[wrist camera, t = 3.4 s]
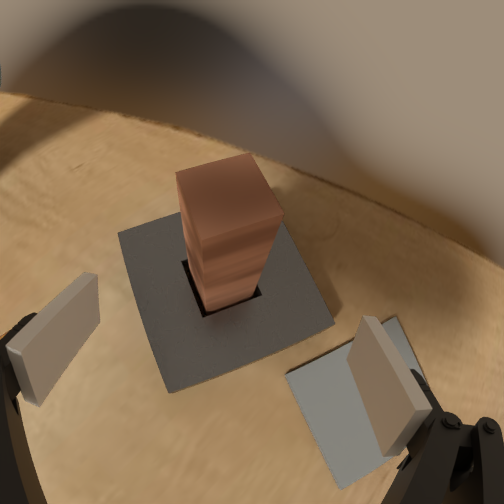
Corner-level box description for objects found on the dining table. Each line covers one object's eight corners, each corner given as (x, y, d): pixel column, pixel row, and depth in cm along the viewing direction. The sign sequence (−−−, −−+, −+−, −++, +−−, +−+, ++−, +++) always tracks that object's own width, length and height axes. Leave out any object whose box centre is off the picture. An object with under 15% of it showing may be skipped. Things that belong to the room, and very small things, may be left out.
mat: (284, 374, 25) (285, 374, 24) (393, 317, 28) (395, 316, 27) (339, 488, 20) (341, 490, 20) (438, 418, 24) (441, 418, 23)
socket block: (124, 245, 28) (117, 232, 26) (260, 201, 32) (263, 186, 29) (172, 393, 23) (168, 393, 21) (325, 330, 27) (335, 323, 24)
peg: (190, 275, 27) (175, 172, 15) (232, 261, 28) (250, 152, 16) (206, 317, 26) (201, 240, 13) (250, 300, 27) (284, 213, 14)
